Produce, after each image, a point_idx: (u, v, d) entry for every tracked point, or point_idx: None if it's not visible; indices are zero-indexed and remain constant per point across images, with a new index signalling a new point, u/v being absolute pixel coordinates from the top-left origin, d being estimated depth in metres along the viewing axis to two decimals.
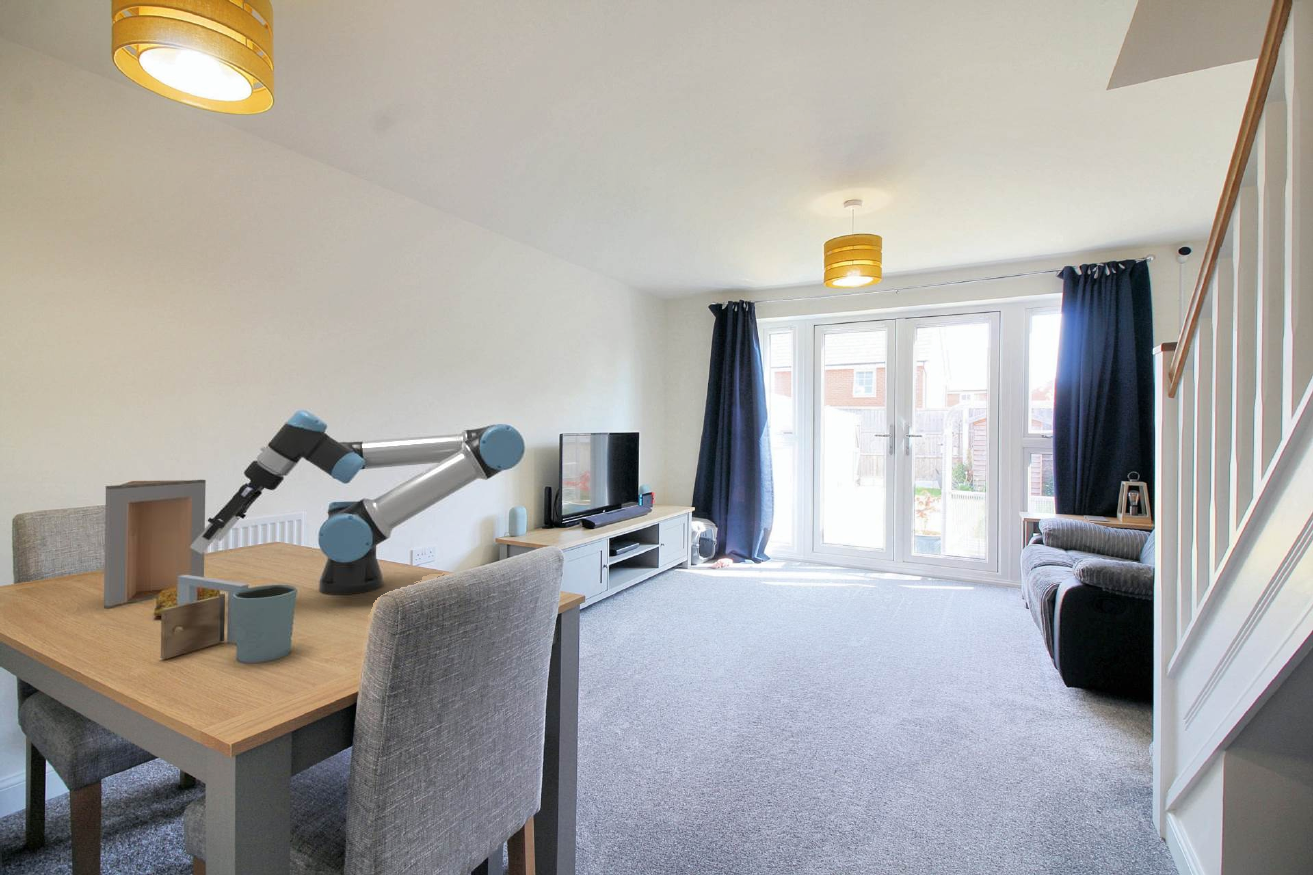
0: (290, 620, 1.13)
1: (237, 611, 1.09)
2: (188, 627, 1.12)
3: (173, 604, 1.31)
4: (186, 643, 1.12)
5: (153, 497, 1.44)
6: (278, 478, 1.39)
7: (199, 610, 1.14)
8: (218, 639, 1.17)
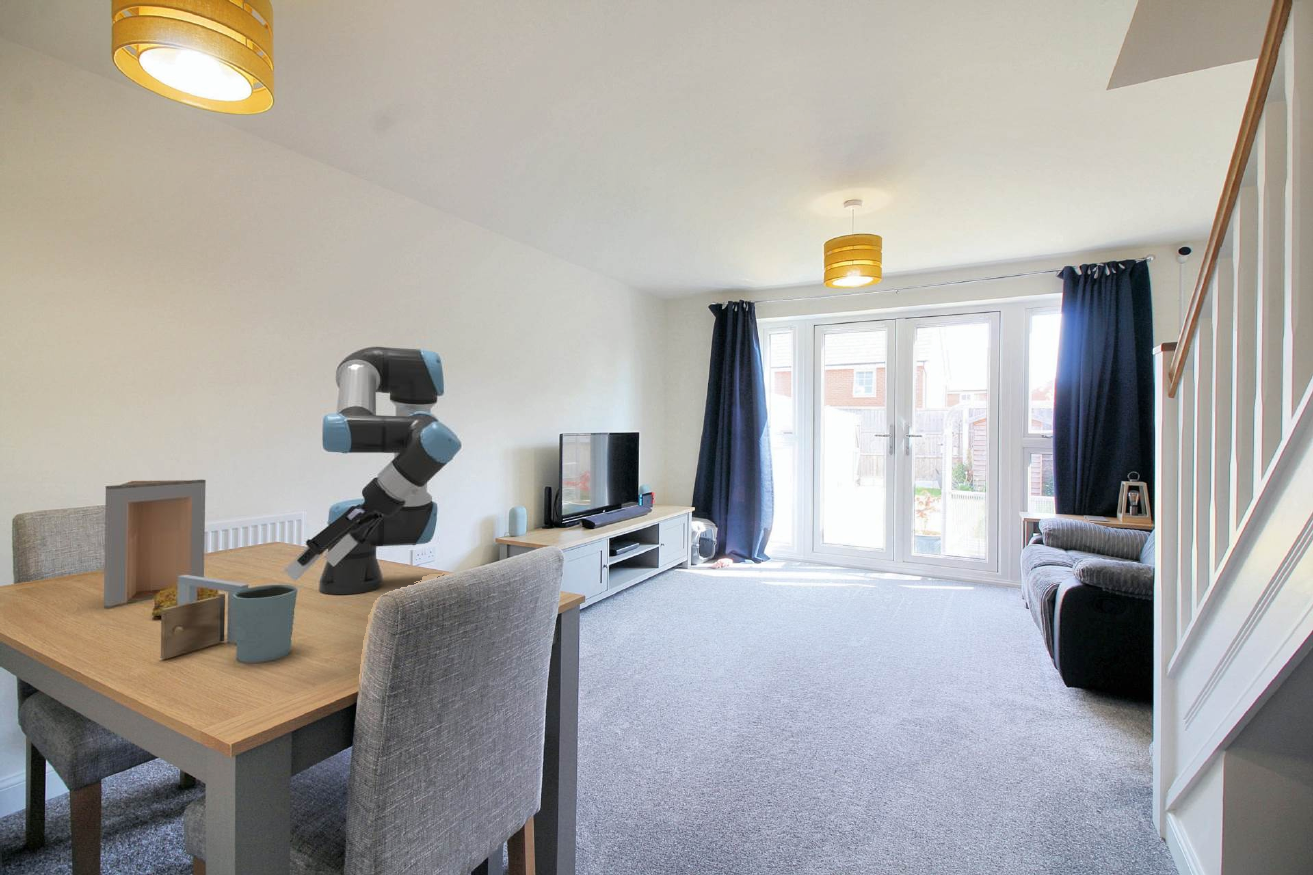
0: (290, 620, 1.13)
1: (237, 611, 1.09)
2: (188, 627, 1.12)
3: (171, 604, 1.31)
4: (186, 643, 1.12)
5: (153, 497, 1.44)
6: None
7: (199, 610, 1.14)
8: (218, 639, 1.17)
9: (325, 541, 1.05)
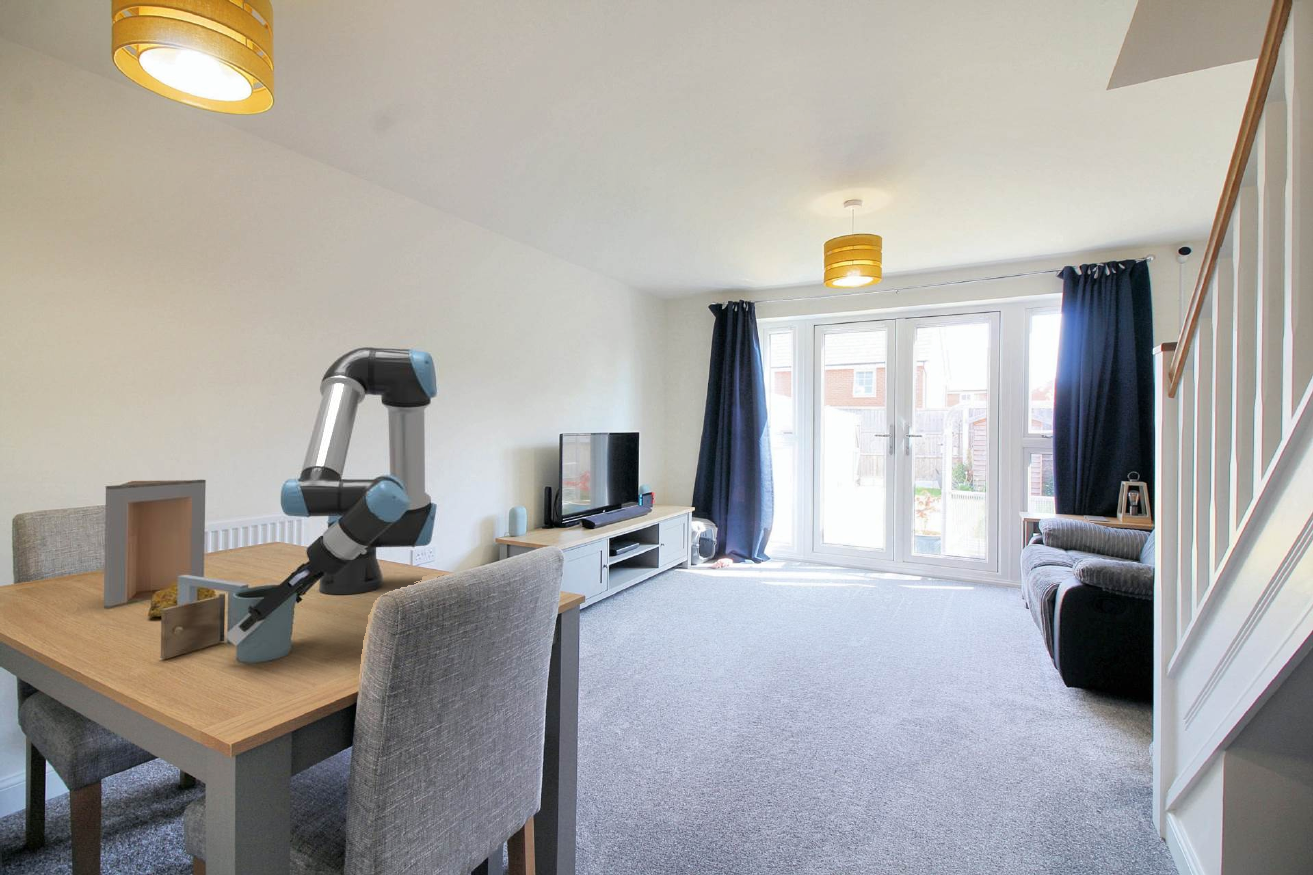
0: (290, 620, 1.13)
1: (237, 611, 1.09)
2: (188, 627, 1.12)
3: (168, 605, 1.30)
4: (186, 643, 1.12)
5: (153, 497, 1.44)
6: None
7: (199, 610, 1.14)
8: (218, 639, 1.17)
9: (267, 609, 1.05)
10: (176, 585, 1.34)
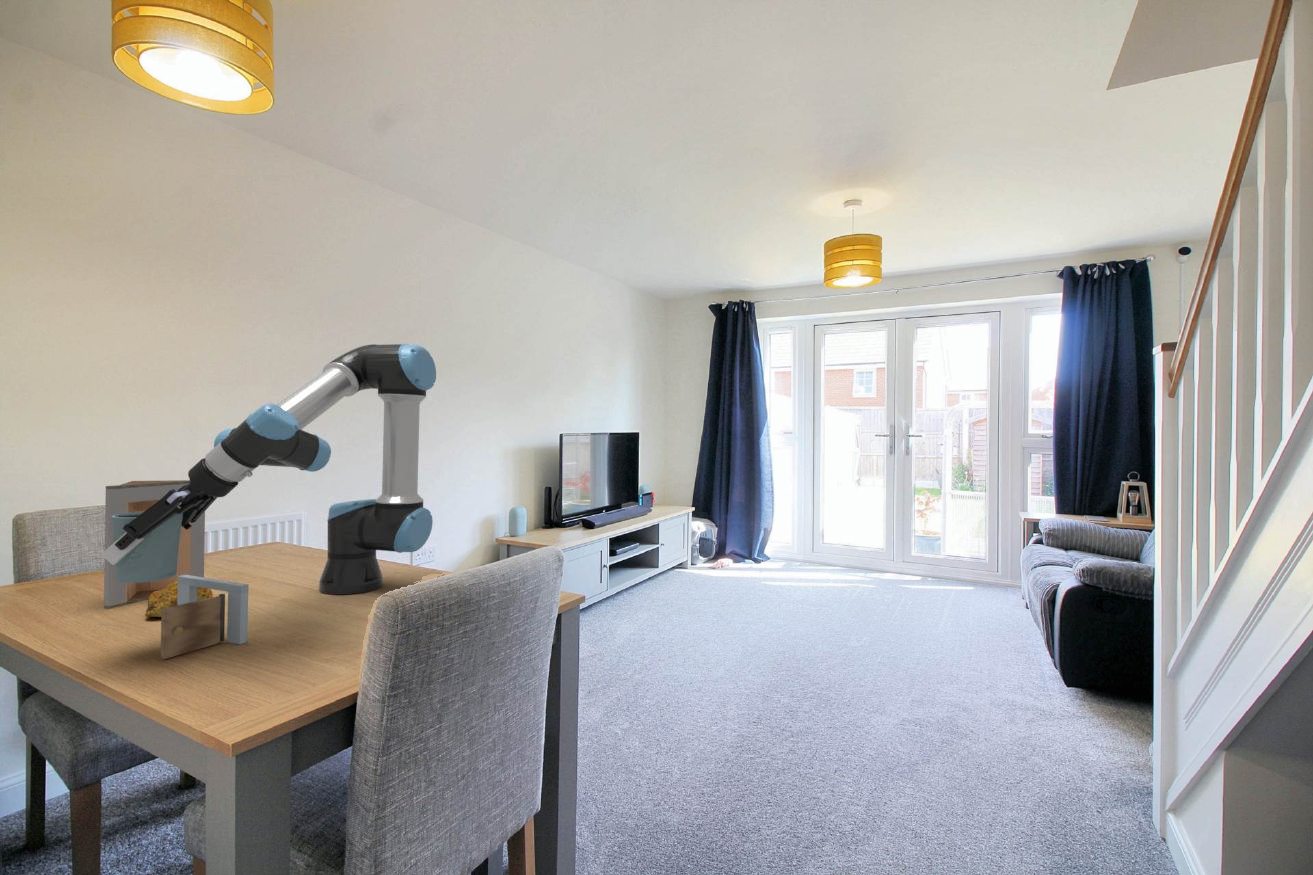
0: (174, 543, 1.13)
1: (115, 531, 1.08)
2: (188, 627, 1.12)
3: (165, 605, 1.30)
4: (186, 643, 1.12)
5: (153, 497, 1.44)
6: None
7: (199, 610, 1.14)
8: (218, 639, 1.17)
9: (142, 526, 1.05)
10: (173, 585, 1.34)
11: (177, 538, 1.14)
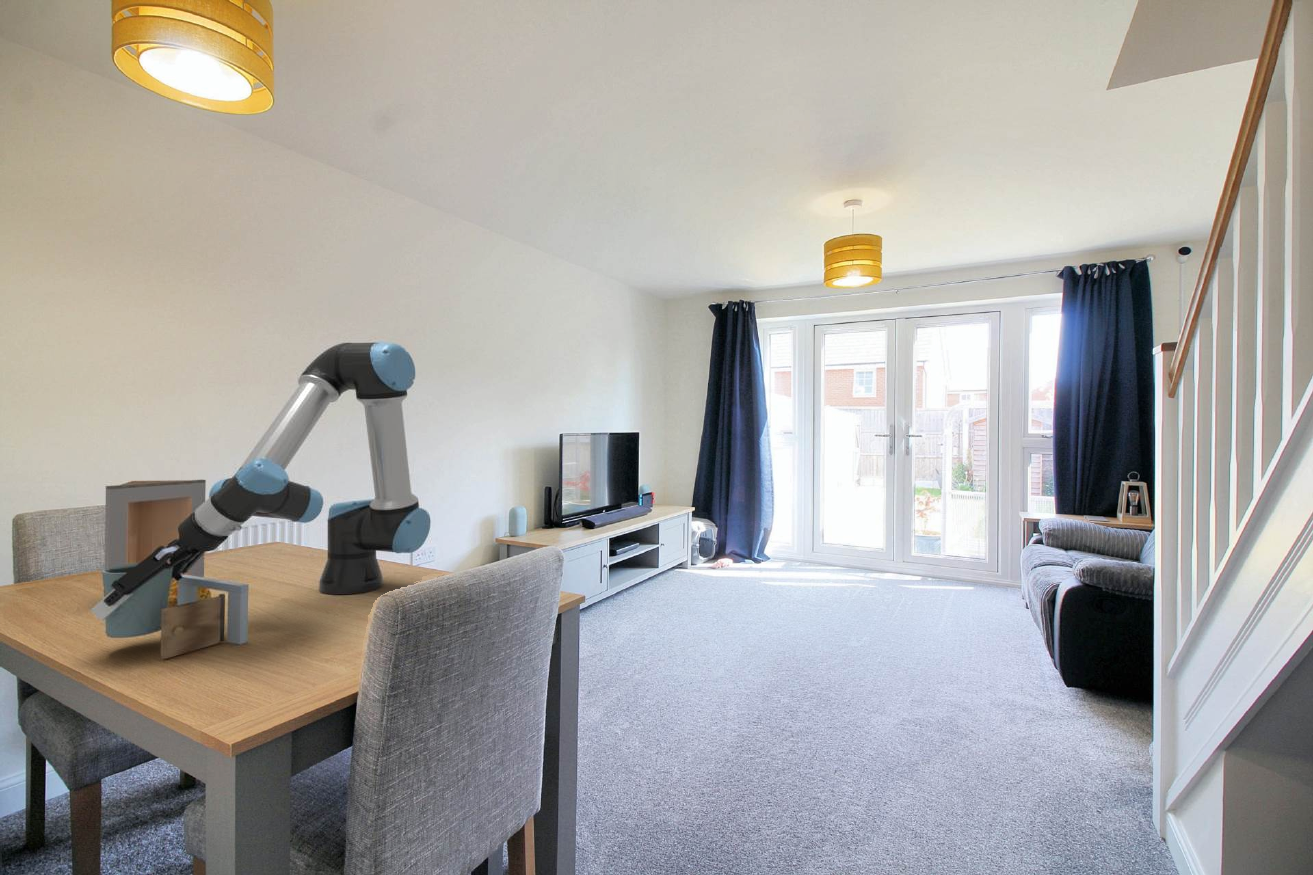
0: (163, 596, 1.13)
1: (105, 586, 1.09)
2: (188, 627, 1.12)
3: None
4: (186, 643, 1.12)
5: (154, 497, 1.44)
6: None
7: (199, 610, 1.14)
8: (218, 639, 1.17)
9: (130, 583, 1.05)
10: (171, 585, 1.34)
11: (167, 591, 1.14)
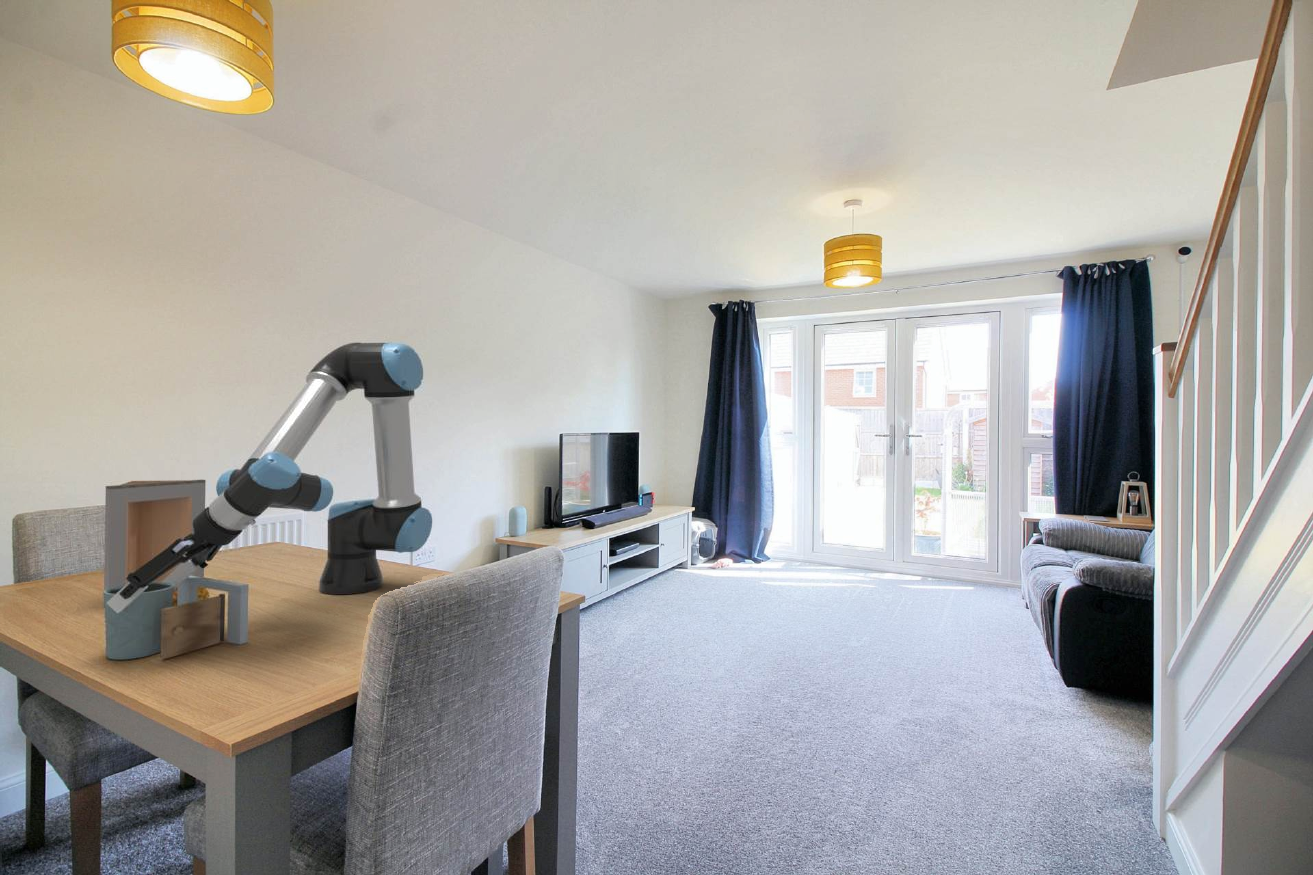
0: None
1: (106, 607, 1.08)
2: (188, 627, 1.12)
3: None
4: (186, 643, 1.12)
5: (153, 497, 1.44)
6: None
7: (199, 610, 1.14)
8: (218, 639, 1.17)
9: (147, 575, 1.05)
10: None
11: None
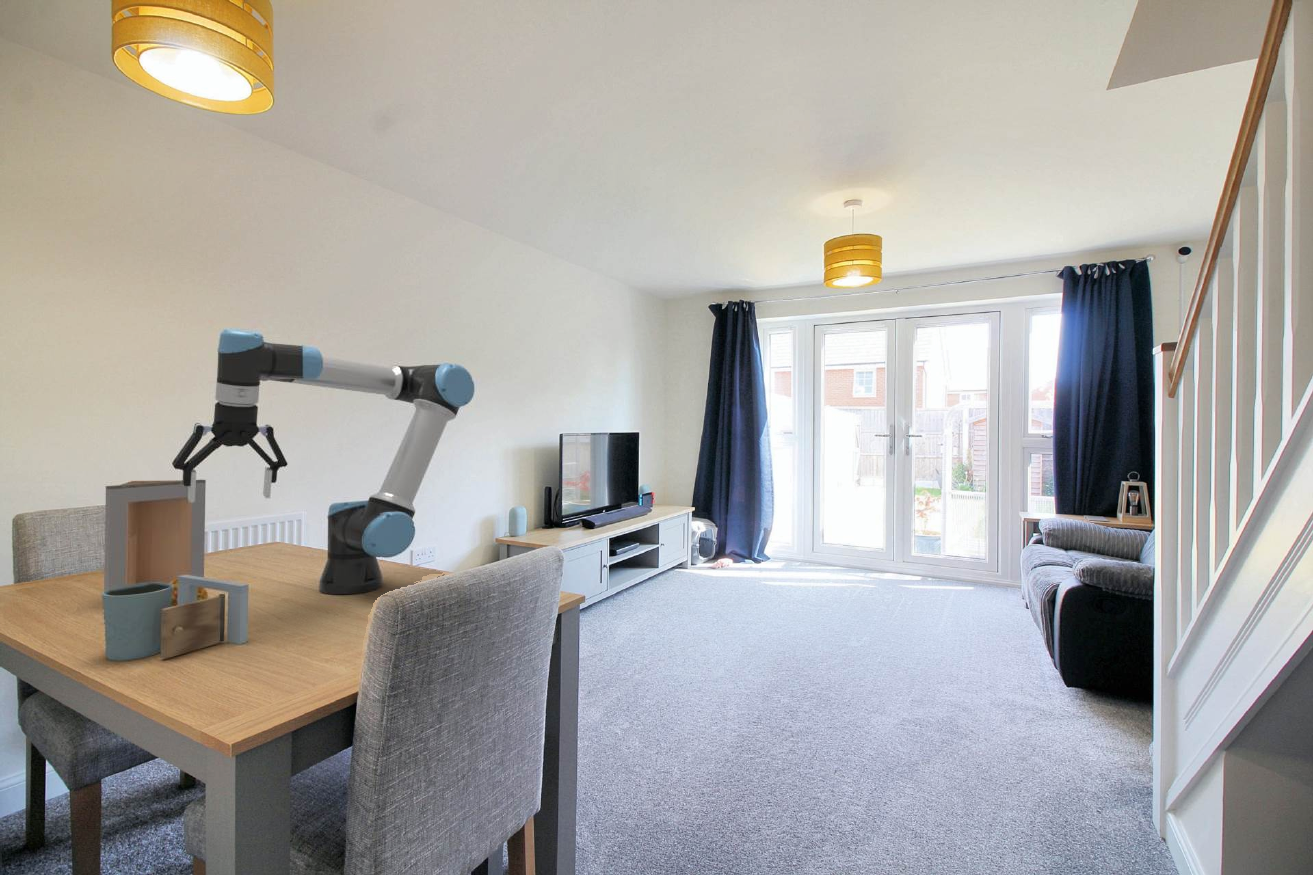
0: None
1: (105, 609, 1.08)
2: (188, 627, 1.12)
3: None
4: (186, 643, 1.12)
5: (153, 497, 1.44)
6: None
7: (199, 610, 1.14)
8: (218, 639, 1.17)
9: (179, 456, 1.22)
10: None
11: None
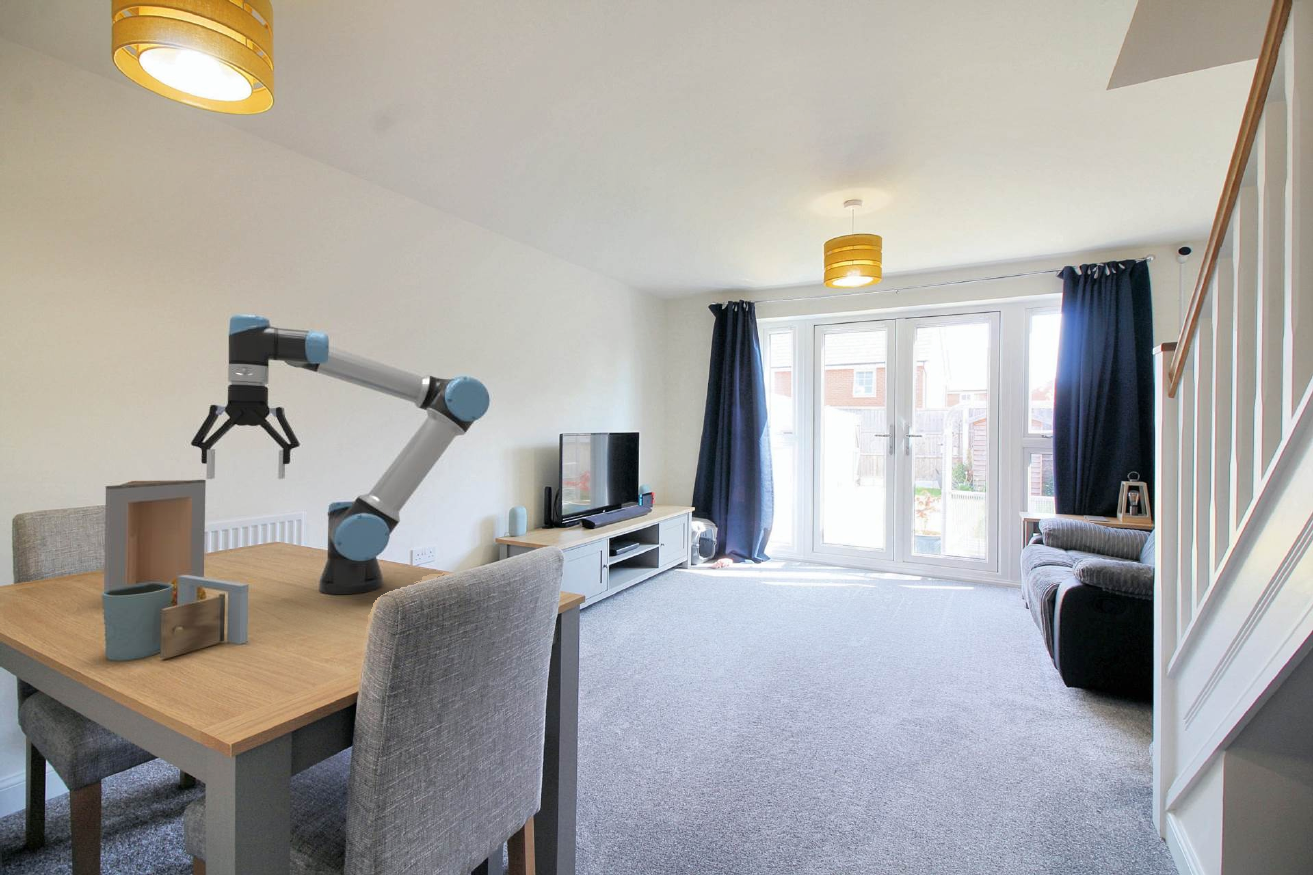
0: None
1: (105, 609, 1.08)
2: (188, 627, 1.12)
3: None
4: (186, 643, 1.12)
5: (153, 497, 1.44)
6: None
7: (199, 610, 1.14)
8: (218, 639, 1.17)
9: None
10: None
11: None
